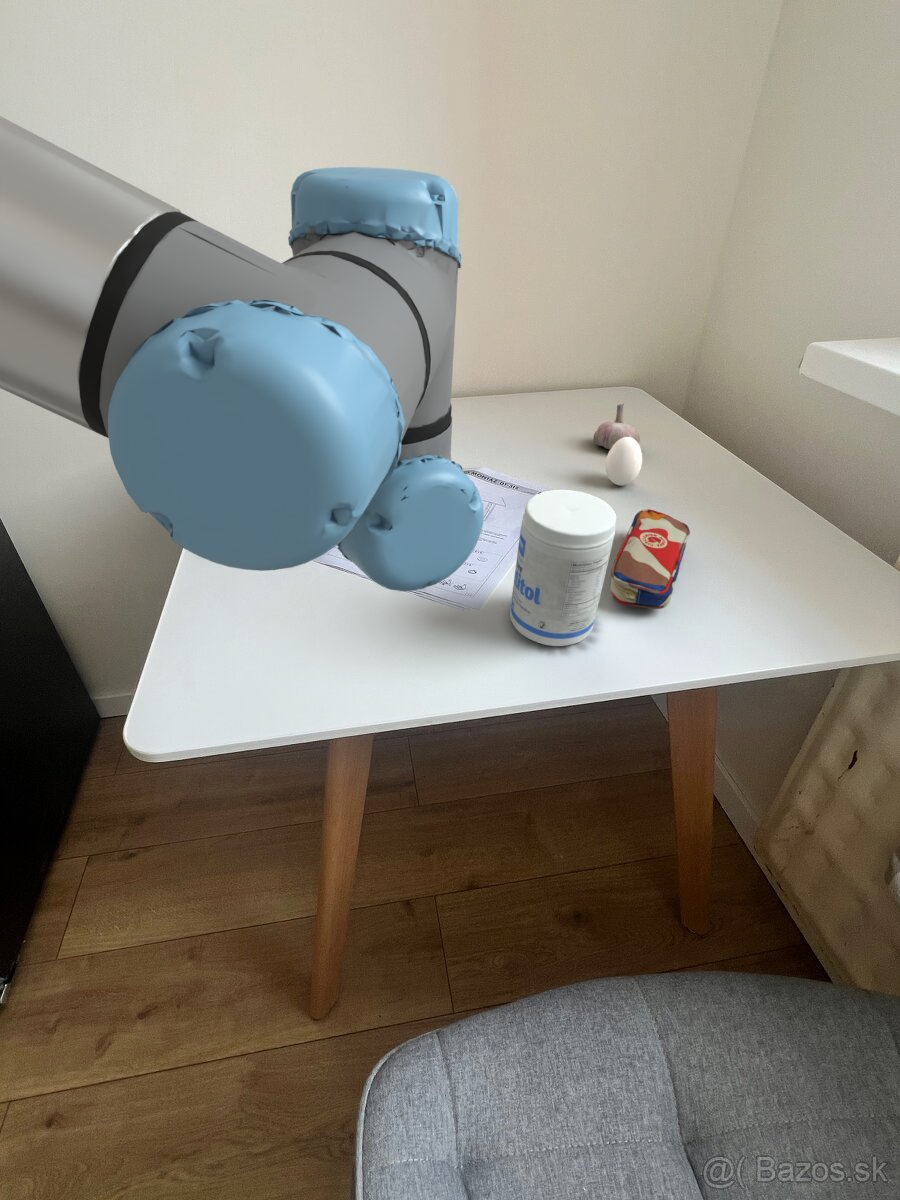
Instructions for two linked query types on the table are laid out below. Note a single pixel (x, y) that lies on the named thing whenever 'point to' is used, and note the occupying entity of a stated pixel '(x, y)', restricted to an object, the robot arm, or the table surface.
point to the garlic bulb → (614, 431)
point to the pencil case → (649, 560)
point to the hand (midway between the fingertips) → (217, 336)
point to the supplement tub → (561, 566)
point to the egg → (624, 461)
